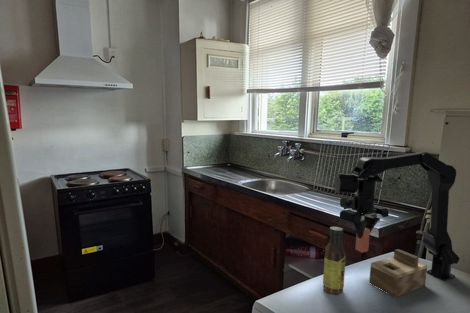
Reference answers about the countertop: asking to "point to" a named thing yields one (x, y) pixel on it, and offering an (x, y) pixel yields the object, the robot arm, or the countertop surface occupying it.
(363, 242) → the block
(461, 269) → the countertop surface
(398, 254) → the lid
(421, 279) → the wooden box
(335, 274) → the sauce bottle
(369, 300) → the countertop surface
